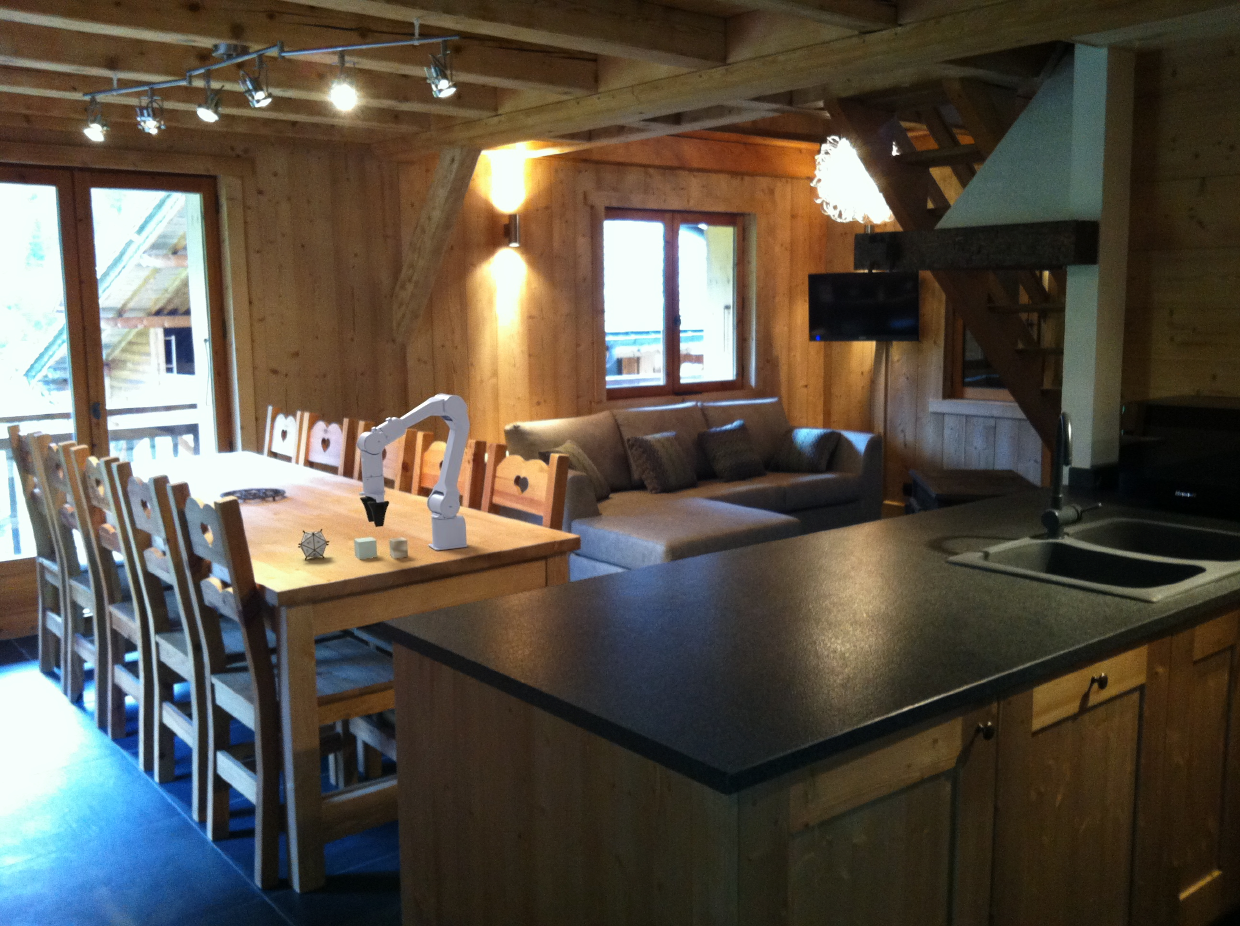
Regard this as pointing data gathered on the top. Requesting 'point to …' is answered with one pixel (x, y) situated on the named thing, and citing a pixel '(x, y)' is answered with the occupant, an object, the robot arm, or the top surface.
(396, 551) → the birch block
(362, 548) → the base block
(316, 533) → the game die
